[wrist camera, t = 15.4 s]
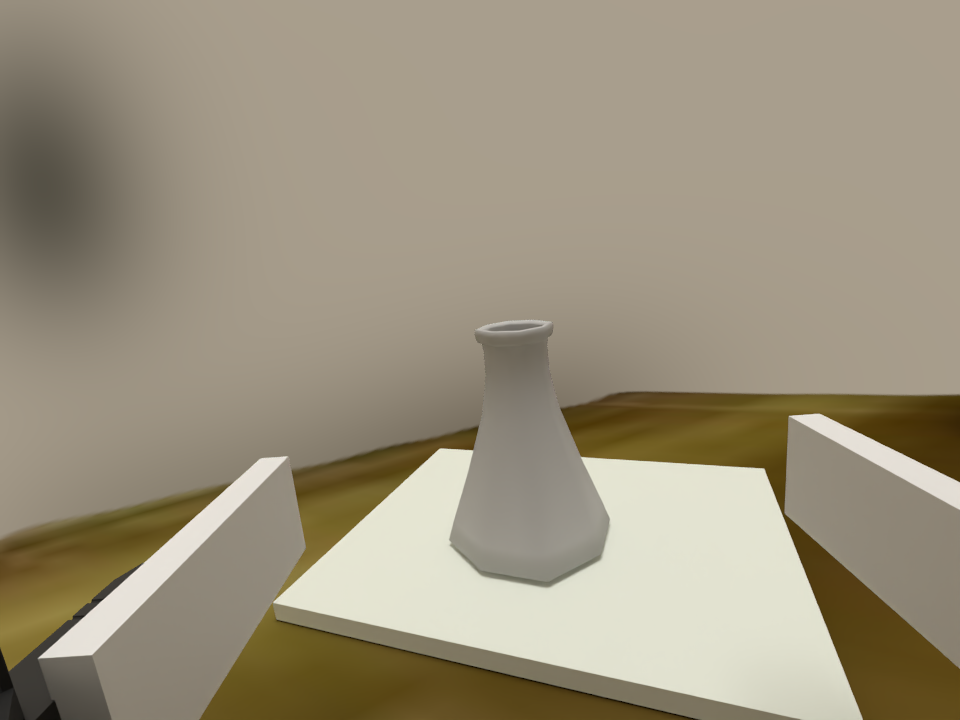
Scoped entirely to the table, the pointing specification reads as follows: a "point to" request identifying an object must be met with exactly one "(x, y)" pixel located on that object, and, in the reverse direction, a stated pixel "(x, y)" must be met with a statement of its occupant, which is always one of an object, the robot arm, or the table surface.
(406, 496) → the white rectangular board
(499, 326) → the flask
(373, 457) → the table surface
